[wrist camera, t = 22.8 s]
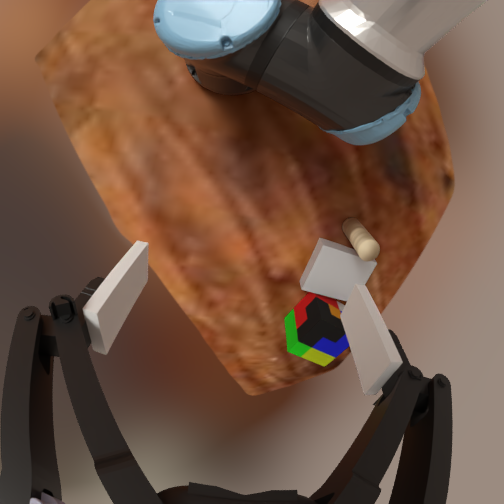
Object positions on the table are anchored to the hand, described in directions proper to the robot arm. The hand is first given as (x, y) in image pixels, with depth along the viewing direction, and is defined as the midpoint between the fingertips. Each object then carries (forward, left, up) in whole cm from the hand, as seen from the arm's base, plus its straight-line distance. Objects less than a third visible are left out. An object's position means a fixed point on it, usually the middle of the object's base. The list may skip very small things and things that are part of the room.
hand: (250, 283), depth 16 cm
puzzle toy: (+26, +19, -32) cm, 45 cm away
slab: (+14, +19, -32) cm, 40 cm away
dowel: (+5, +19, -32) cm, 37 cm away
